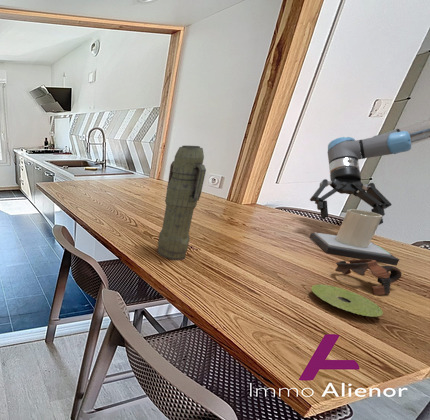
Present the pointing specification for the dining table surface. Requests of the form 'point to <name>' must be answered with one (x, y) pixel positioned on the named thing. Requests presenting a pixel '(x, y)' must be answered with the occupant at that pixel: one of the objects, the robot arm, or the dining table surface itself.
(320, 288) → the green disc
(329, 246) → the kitchen scale
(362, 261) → the brown branching piece
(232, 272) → the dining table surface
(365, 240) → the cup
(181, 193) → the thermos
